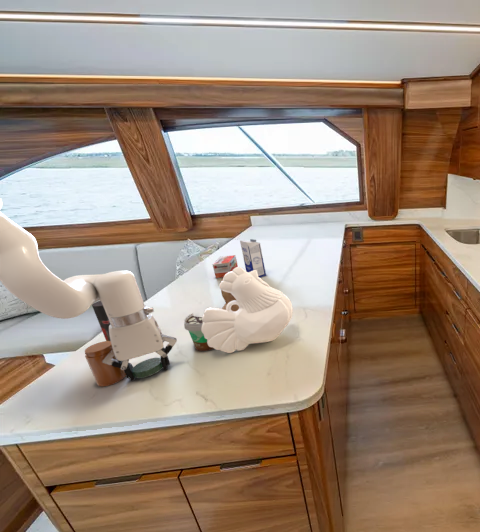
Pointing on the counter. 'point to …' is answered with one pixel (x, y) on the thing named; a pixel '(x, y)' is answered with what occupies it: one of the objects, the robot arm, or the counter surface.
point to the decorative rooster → (246, 313)
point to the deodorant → (102, 319)
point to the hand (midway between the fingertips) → (150, 372)
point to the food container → (196, 332)
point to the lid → (147, 368)
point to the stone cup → (229, 300)
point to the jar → (103, 364)
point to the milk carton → (253, 257)
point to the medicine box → (224, 265)
